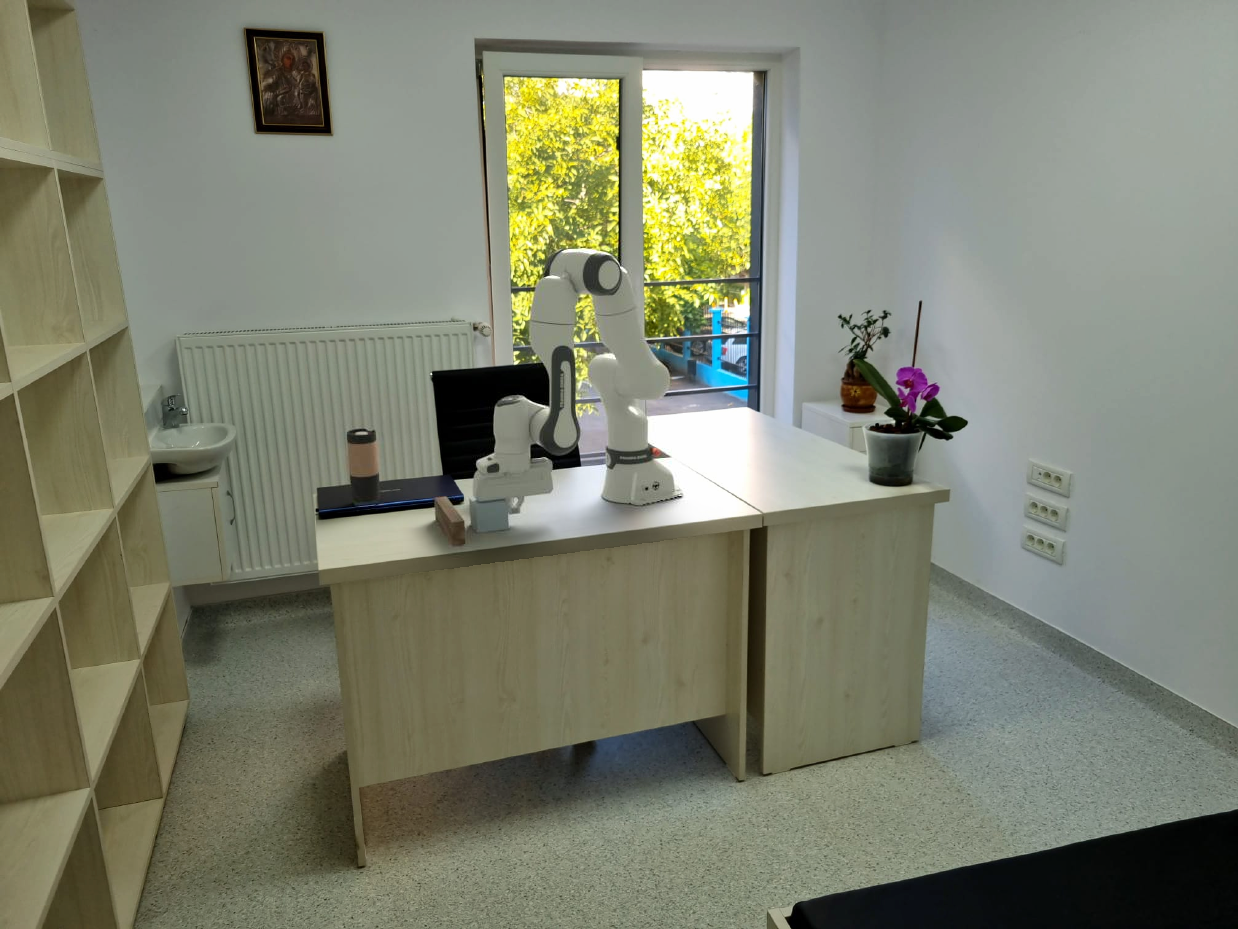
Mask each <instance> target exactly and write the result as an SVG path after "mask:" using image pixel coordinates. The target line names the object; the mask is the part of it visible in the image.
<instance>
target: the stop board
mask: <svg viewBox="0 0 1238 929" xmlns="http://www.w3.org/2000/svg"><path fill="white" fill-rule="evenodd" d="M433 501H434V515H435V518H434V519H435V521H436V523H437V524H438V525H439V527H440V529H441V530H442V532H443V533H444V535H445V536H446V537H447V539H448V541H449V542H450V544H451V545H452V547H457V546H463V545H466V544H467V542H466V527H465V526H466V524H465V519H464V518H463V517H462V515H461V514H460V513H459V512H458V510H457V509H456V508H455V506H454V505H453V503H452V502H451V501H450V499H449V498H448V497H447V496H438V497H434V500H433Z"/></svg>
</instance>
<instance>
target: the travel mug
mask: <svg viewBox="0 0 1238 929" xmlns="http://www.w3.org/2000/svg"><path fill="white" fill-rule="evenodd" d="M376 432H377V431H376V430H375V429H372V430H368V429H366V428H355V429H351V430H348V431H347V432H346V442H347V443H346V444H347V445H346V446H347V457H348V458H347V459H348V461H347V462H348V474H349V481H350V490H351V500H353V501H355V502H371V501H374V500H377V499H379V498H380V499H381V493H380V492H381V491H380V490H381V489H380V468H379V456H378V447H377V446H378V445H377V444H378V442H377V433H376ZM353 501H352V502H353Z"/></svg>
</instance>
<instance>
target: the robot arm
mask: <svg viewBox="0 0 1238 929" xmlns="http://www.w3.org/2000/svg"><path fill="white" fill-rule="evenodd" d="M581 295H590V296H591V298H592V303H593V310H594V315H595V321H596V326H597V331H598V337H599V339H600V341H601V343H602V344H603V345H604V346H605V348H607V349H608V350H609V351H610V352H611V353H604V354H597V355H596V356H594V357H593V358H592V359H591V361H590V362H589V364H588V367H587V374H586V375H587V381H588V383H589V384H590V385H591V386H592V387H593V389H594V390H595V392H596V393H597V395H598V397H599V400H600V401H601V403H602V406H603V410H604V414H605V418H606V428H607V431H606V432H607V433H606V434H607V438H606V439H607V445H606V446H605V465H606V472H605V477H604V478H605V479H604V485H603V489H602V492H601V497H602V498H603V499H605V500H607V501H609V502H614V503H620V504H629V503H631V504H630V505H635V506H643V504H645V505H647V504H646V503H649V504H653V503H652V502H654V503H658V502H657V501H659V502H661V501H660V500H663V501H666V500H665V499H668V500H671V499H670V498H673V497H677V496H679V495H682V496H683V491H682V488H681V487H679V486H678V485H676V483H675V480H674V475H673V473H672V472H671V470H670V469H668V467H666V466H665V465H664V464H662V463H661V462H659V461H658V460H657V459H656V458H655V457H659V456H660V455H661V453H662V452H661V450H660V449H658V448H657V447H653V446H651V445H649V441H648V440H649V420H648V417H647V416H646V414H645V412H643V411H642V410H641V409H640V406H639V405H638V403H637V401H636V400H638V401H656V400H661V399H662V398H663V397H664V396H665V395H666V394H667V392H668V390H669V388H670V385H671V374H670V372H669V369H668V368H667V367H666V365H664V364H663V363H662V362H661V361H660V360H659V359H658V357H656V356H655V353H653V351H652V348H650V346H649V343H648V342H647V341H646V338H645V336H644V333H643V331H642V330H643V329H642V325H641V321H640V315H639V310H638V306H637V300H636V296H635V291H634V288H633V284H632V282H631V279H630V276H629V273H628V271H627V270H626V269H625V268H624V267H622V266H621V265H620V262H619V261H618V260H617V258H616V257H615V256H613V255H612V254H610V253H608V252H605V251H600V250H599V251H597V250H595V249H589V248H567V247H566V248H561V249H557V250H555V251H553V252H552V253H551V254H550V255H549V257H548V258H547V260H546V263H545V266H544V272H543V277H542V278H540V280H539V281H538V282H537V283H536V286H535V289H534V293H533V297H532V302H531V308H530V314H529V315H530V316H529V329H528V330H529V331H528V332H529V333H528V334H529V342H530V348H531V349H532V350H533V351H534V353H535V355H536V356H537V357H538V358H539V359H540V360H541V362H542V363H543V366H544V367H545V369H546V371H547V374H548V379H549V405H545V404H544V405H543V404H540V403H539V404H538V403H536V402H533V401H531V400H530V399H528V398H526V397H525V396H524V395H519V394H517V395H508V396H505V397H503V398H501V399H500V400H498V401H497V403H496V404H495V406H494V411H493V413H494V414H493V435H494V439H495V444H494V452H493V453H491V454H489V455H487V456H484V457H482V458H479V459H477V460H476V463H475V465H476V468H477V470H476V471H475V472H474V475H473V481H472V482H473V483H472V496H473V497H474V498H475V499H476V500H477V501H478V502H483V501H491V500H500V499H505V500H506V501H507V502H508V516H511V515H517V514H521V508H522V505H523V503H524V501H525V497H531V496H539V495H549V494H551V493H552V491H553V490H554V483H553V476H552V473H553V461H552V460H551V459H550V458H547V457H540V458H531V446H532V445H534V444H535V445H536V444H537V445H539V446H541V447H543V449H545V450H546V451H547V452H548V453H550V454H551V455H554V456H564V455H567V454H568V453H570V452H572V451H573V450H574V449H575V448H576V447H577V445H578V443H579V441H580V438H581V426H580V423H579V420H578V419H579V418H578V417H577V411H576V410H577V409H576V408H577V406H576V404H577V403H576V399H577V395H576V394H577V389H576V386H577V377H576V375H577V373H576V369H577V368H576V356H575V328H576V327H575V325H576V305H577V302H578V300H579V298H580V297H581ZM511 498H514V499H515V498H516V499H517V502H516V503H515V505H510V504H509V502H511ZM677 498H678V497H677ZM673 499H674V498H673Z"/></svg>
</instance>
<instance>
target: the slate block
mask: <svg viewBox="0 0 1238 929" xmlns="http://www.w3.org/2000/svg"><path fill="white" fill-rule="evenodd" d="M468 501H469V515H470V516H469V518H470V526H471V527H472V528H473V529H474V531H475V532H476V533H477V534H480V533H487V532H494V531H503V530H508V529H510V528H509V526H510V525H509V524H510V522H509V514H508V502H507V501H506V500H505V499H500V500H491V501H483V502H478V501H477V500H476V499H475V498H474V496H473V497H469V500H468Z"/></svg>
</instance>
